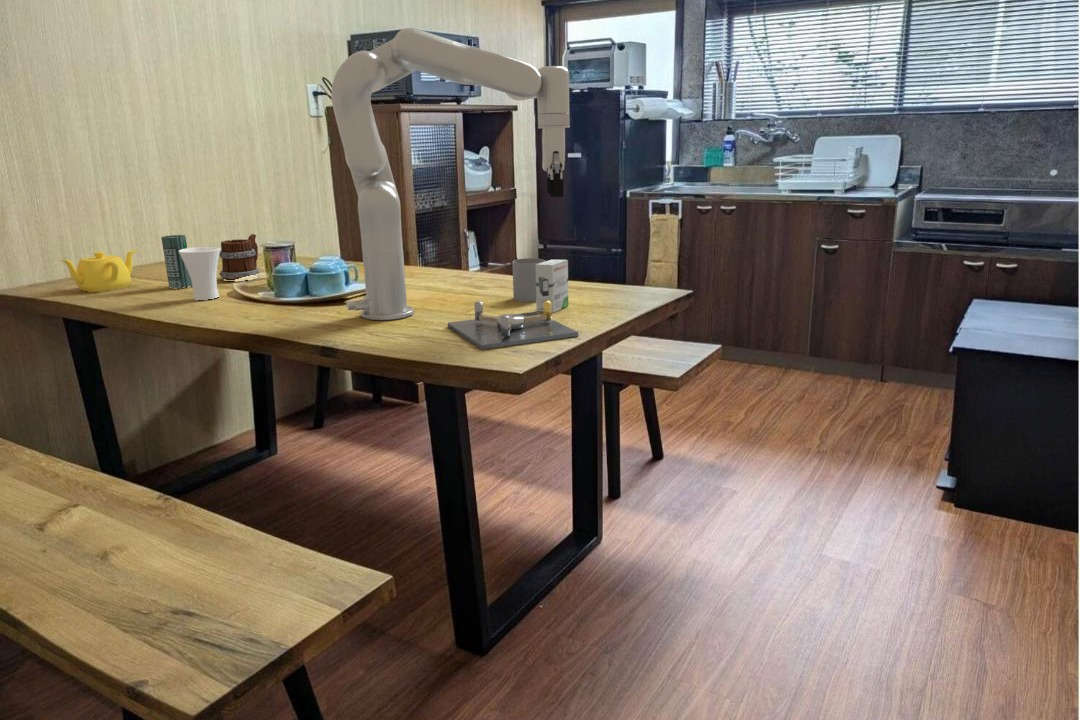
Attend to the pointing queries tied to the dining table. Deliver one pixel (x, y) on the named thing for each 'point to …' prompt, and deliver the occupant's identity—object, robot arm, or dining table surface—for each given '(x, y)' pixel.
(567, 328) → the stand plate
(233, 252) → the mug
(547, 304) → the capstan
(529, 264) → the cup
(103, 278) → the teapot
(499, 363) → the dining table surface
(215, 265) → the cup
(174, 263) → the teal patterned carton
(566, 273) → the ink box
